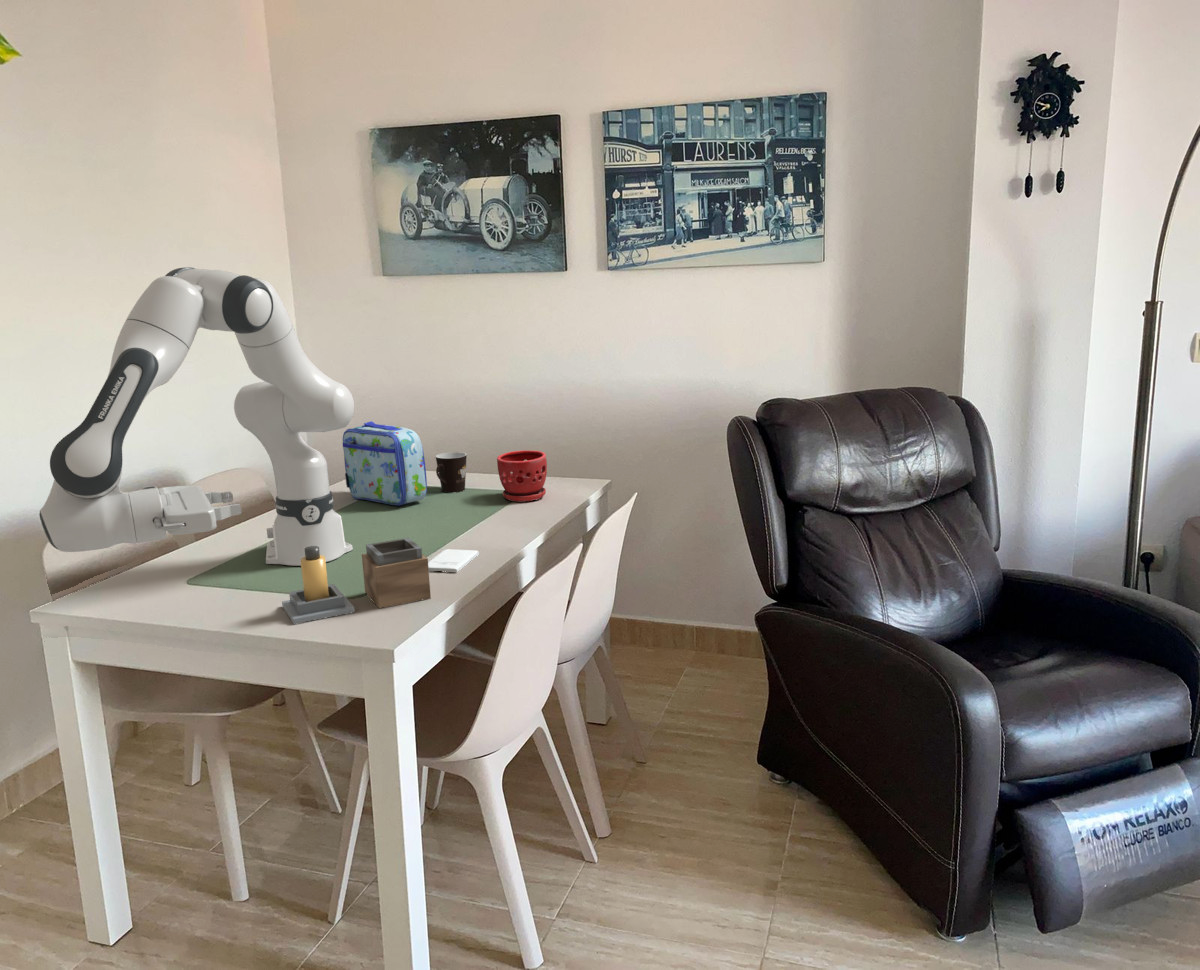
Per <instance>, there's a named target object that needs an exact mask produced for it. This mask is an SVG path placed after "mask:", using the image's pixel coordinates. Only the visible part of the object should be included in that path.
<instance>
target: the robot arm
mask: <svg viewBox="0 0 1200 970" xmlns="http://www.w3.org/2000/svg"><path fill="white" fill-rule="evenodd" d="M123 323H124V324H123V325H122V327H121V329H120V331H119V334H118V337H117V339H116V342H115V345H114V348H113V352H112V356H111V361H110V368H109V372H108V375H107V378H106V379H105V382H104V383H103V385H102V387H101V389H100V391H99V393H98V395H97V396H96V398H95V400H94V401H93V404H92V405H91V407H90V409H89V412H88V413H87V415H86V416H85V418H84V420H83V421H82V422H81V423H80V424H79V425H78V426H77V427H75V429H73V430H72V431H70V432H69V433H68V434H66V435H65V436H64V437H62V439H60V440H59V441H58V443H56V444H55V446H54V447H53V449H52V451H51V454H50V458H49V467H50V472H51V476H52V477H53V483H52V486H51V489H50V491H49V494H48V496H47V498H46V500H45V502H44V504H43V506H42V507H41V508H40V510H39V520H40V523H41V526H42V529H43V531H44V533H45V536H46V538H47V540H48V542H49V543H50V546H52V547H53V548H55V549H56V550H58V551H60V552H64V553H79V552H80V553H81V552H89V551H97V550H103V549H109V548H111V547H114V546H116V545H119V544H132V545H134V544H140V543H147V542H153V541H159V540H160V541H161V540H164V539H167V533H168V534H170V535H173V536H179V535H190V534H196V533H197V534H199V533H205V532H211V531H214V530H216V529H217V526H218V525H217V521H222V520H224V519H227V518H230V517H233V516H239V515H241V514H242V506H241V504H240V503H239V502H235V503H234V495H233V492H232V491H230V490H227V491H203V488H202V487H201V486H200V485H196V484H195V485H192V484H191V485H190V484H189V485H176V486H162V487H159V488H158V487H157V485H147V486H143V488H141V489H139V490H132V491H121V489H120V482H121V480H122V479H121V478H122V470H123V469H122V468H123V445H124V439H125V437H126V436H127V433H128V431H129V429H130V428H131V425H132V424H133V421H134V420H135V417H136V415H137V414H138V412H139V410H140V408H141V406H142V404H143V403H144V400H145V399H146V398H147V396H148V395H149V394H150V393H151V392H152V391H153V390H154V389H156V388H157V387H160V386H163V385H166V384H167V383H168V382H169V381H170V380H171V379H172V378H173V377H174V375H175V374H176V373H177V371H178V370H179V368H180V367H181V366H182V364H183V362H184V360H185V358H186V357H187V355H188V354H189V351H190V349H191V347H192V345H193V342H194V341H195V338H196V335H197V333H198V329H200V328H201V329H204V330H208V331H209V330H210V331H220V332H229V333H230V332H232V333H234V335H235V337H236V340H237V342H238V345H239V346H240V350H241V352H242V354H243V357H244V359H245V361H246V364H247V366H248V368H249V370H250V371H251V373H252V374H253V375H254V376H255V377H257V378H258V379H260V380H261V381H260V382H256V383H250V384H247V385H243V386H242V387H241V388H240V389H239V390H238V392H237V394H236V396H235V397H234V402H233V409H234V415H235V417H236V419H237V421H238V423H239V424H240V425H241V427H243V428H244V429H246V430H247V431H248V432H250V433H251V434H252V435H253V436H254V437H255V438H256V439H257V440H258V441H259V442H260V444H262V446H263V447H264V449H265V451H266V453H267V455H268V456H269V459H270V462H271V464H272V470H273V475H274V482H275V489H276V490H275V491H276V497H275V511H276V517H275V519H274V522H273V525H272V527H268V528H266V535H267V539H273V540H272V541H271V540H270V541H268V542H267V544H266V554H265V564H267V565H283V566H284V565H286V566H301V558H303V557H305V548H306V547H310V546H318V547H319V552H320V555H323V556H325V561H326V563H327V562H330V561H331V562H332V561H333V560H336V559H339V558H340V557H342V556H343V555H345V553H348V552H351V551H353V550H354V549H353V548H354V547H353V545H352V544H351V543H349V542H346V541H345V539H346V538H345V534H344V526H343V521H342V516H341V514H339V513H338V512H336V511H335V510H334V509H333V508H334V497H333V493H332V491H331V490H330V482H329V481H330V480H329V472H328V470H329V469H328V462H327V460H326V457H325V456H324V454H322V452H320V451H319V450H317V449H315V448H313V447H311V446H310V445H309V444H308V443H306V442H305V440H304V439H303V438H302V435H301V433H327V432H331V431H335V430H340V429H345V428H346V427H347V426H348V425H349V424H350V423H351V421H352V419H353V417H354V414H355V401H354V397H353V395H352V393H351V390H349V388H348V387H347V386H346V385H345V384H343V383H341V382H339V381H337V380H334V379H333V378H331V377H330V376H328V375H326V374H325V373H324V372H323V371H321V369H319V368H318V367H317V365H315V364H314V363H313V362H312V361H311V360H310V358H309V357H308V356H307V355H306V353H305V351H304V349H303V347H302V345H301V343H300V340H299V338H298V335H297V333H296V330H295V328H294V325H293V322H292V320H291V317H290V315H289V313H288V310H287V308H286V306H285V304H284V302H283V300H282V299H281V297H280V295H279V294H278V292H277V290H276V288H275V287H274V286H273V285H272V284H271V283H270V281H267V280H265V279H263V278H258V277H252V276H249V275H246V274H245V275H241V274H237V273H234V272H230V271H227V270H226V271H225V270H221V269H205V268H195V267H192V266H191V267H190V266H187V267H186V266H185V267H179V268H175V269H172V270H170V271H168V272H167V273H166V274H165V275H164V276H160V277H157V278H156V279H154V280H153V281H152V282H151V283H150V284H149V285H148V286H147V287H146V289H145V290H144V291H143V293H142V294H141V296H140V297H139V298H138V299H137V301H136V303H135V304H134V306H133V307H132V308H131V310H130V312H129V314H128V316H127V317H126V319H125V322H123ZM232 502H233V503H232ZM221 503H223V504H228V503H229V504H228V505H223V506H222V505H221V506H219V505H218V506H213V504H221Z"/></svg>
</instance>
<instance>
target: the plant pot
mask: <svg viewBox="0 0 1200 970" xmlns="http://www.w3.org/2000/svg"><path fill="white" fill-rule="evenodd" d="M496 462H497V463H496V464H497V472H498V476H499V477H498V478H499V479H500V483H501V486H502V487H503V489H504V490H503V491H502V495H503V497H504V498H505V499H506V500H508V501H510V500H511V502H515V501H516V503H525V502H526V501H527V502H533V500H536V501H537V500H539V499H541V498H543V497H544V496H545V495H546V492H547V489H546V488H545V487H544V486H545V483H546V481H547V473H548V463H547V454H546V453H545V452H543V451H541V450H527V449H526V450H514V451H509V452H506V453H501V454H499V455H498V456H497V457H496Z"/></svg>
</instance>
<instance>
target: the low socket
mask: <svg viewBox="0 0 1200 970" xmlns="http://www.w3.org/2000/svg"><path fill="white" fill-rule="evenodd" d="M328 591H329V598H324V599H319V600H314V601H309V602H305V597H304V588H302V589H298V590H293V591H292V590H291V591H289V592H288V593H289V594H288V595H289V599H286V600H282V601H281V603H282V605H281V607H282V606H283V607H282V608H283V609H285V610H284V611H285V612H287V613H286V614H287V616H288V615H289V616H288V617H289V619H290V618H291V619H290V621H291V622H292V624H293V623H294V624H293V625H297V624H296V623H299V624H302V623H301V622H304V623H306V622H305V621H309V622H311V621H310V620H314V621H316V620H315V619H319V620H321V619H320V618H325V617H330V618H332V617H331V616H335V617H337V616H336V615H340V616H342V615H341V614H345V615H347V614H346V613H350V614H352V613H351V612H355V610H356V609H355V606H354V605H353V604H352V603H351V602H350V600H349V599H348V598H347V597H346V596H345V595H344V593H343V592H342V591H341V590H340V589H339V588H338V586H336V585H335V584H334V583H331V584H328ZM355 613H356V612H355ZM325 619H326V618H325Z"/></svg>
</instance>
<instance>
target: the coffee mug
mask: <svg viewBox="0 0 1200 970" xmlns="http://www.w3.org/2000/svg"><path fill="white" fill-rule="evenodd" d="M467 455H468V454H467V453H466V452H460V451H459V452H458V451H457V452H456V451H455V452H454V451H452V452H443V453H438V454H436V455H435V461H436V466H437V467H436V469H435V471H436V472H435V473H436V476H437V478H438V480H439V481H440V487H441V491H443V492H442V493H445V494H446V493H447V494H448V493H449V494H454V493H453V492H456V493H461V492H464V491H465V490H466V477H467V476H466V474H467V473H466V472H467ZM463 490H464V491H463ZM460 491H461V492H460Z"/></svg>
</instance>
